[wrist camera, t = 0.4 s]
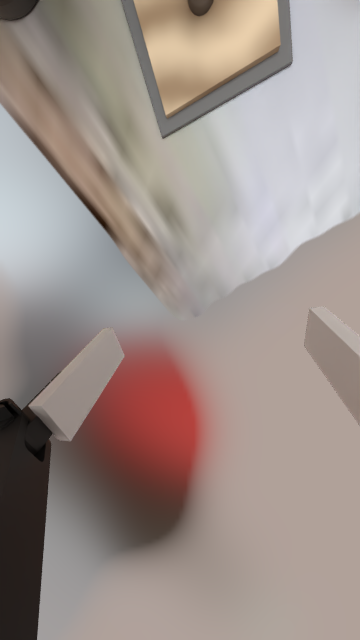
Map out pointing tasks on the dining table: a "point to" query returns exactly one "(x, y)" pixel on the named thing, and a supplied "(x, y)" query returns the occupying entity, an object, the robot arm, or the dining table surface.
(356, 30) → the dining table surface
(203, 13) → the lid
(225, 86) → the mat
